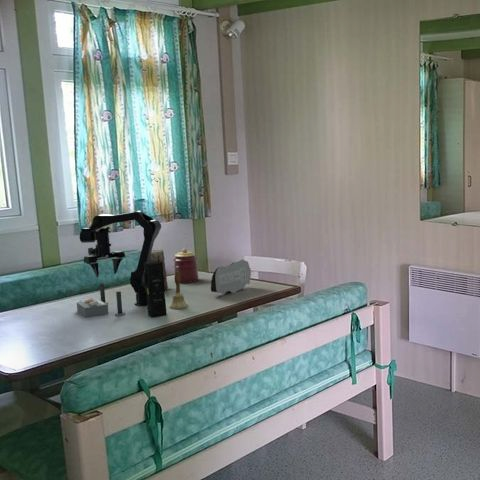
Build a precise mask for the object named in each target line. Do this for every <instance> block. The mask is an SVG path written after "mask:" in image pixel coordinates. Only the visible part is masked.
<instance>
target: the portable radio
mask: <svg viewBox="0 0 480 480" xmlns="http://www.w3.org/2000/svg"><path fill="white" fill-rule="evenodd" d="M144 269H145V272H144V285H145V286H146V294H147V305H146V308H147V316H149V317H151V318H154V317H155V318H157V317H163V316H167V305H166V304H167V303H166V293H165V289H164V275H163V262H161V261H160V259H159V256H158V261H154V262H146V263H144Z"/></svg>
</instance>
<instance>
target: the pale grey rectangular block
mask: <svg viewBox="0 0 480 480" xmlns="http://www.w3.org/2000/svg"><path fill="white" fill-rule="evenodd" d="M88 300H94V298H93V297H92V296H91V297H89V298H86V299H84V301H85V302H86V303H87V302H88Z"/></svg>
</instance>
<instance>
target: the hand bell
mask: <svg viewBox="0 0 480 480" xmlns="http://www.w3.org/2000/svg"><path fill="white" fill-rule="evenodd" d="M174 277H175V278H174V283H175V287H176V288H175V294H173V295H172V303H171V304H170V305H169V309H173V310H174V309H176V310H180V309H185V308H188V307H189V304H188V303H187V302H186V301H185V297H184V294H183V293H181V287H180V286H181V283H180V280H181V279H180V274H179V271H176V273H175V274H174Z"/></svg>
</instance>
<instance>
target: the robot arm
mask: <svg viewBox="0 0 480 480" xmlns="http://www.w3.org/2000/svg"><path fill="white" fill-rule="evenodd" d="M131 221H135V222H136V223H138V225H139V226H140V227H141V228H142V229H143V230H142V231H143V238H144V239H143V243H142V248H141V251H140V255H139V260H138V263H137V268H136V269H134V270H132V271H131V272H130V277H129V284H130V286H131V288H132V289H133V290H134V291H133V292H134V293H135V300H136V301H135V302H136V303H134V305H135V306H144V307H145V306H146V307H147V294H146V286H145V285H144V272H145V269H144V263H146V262H149V259H150V255H151V251H152V250H153V246H154V243H155V240H156V239H157V237H158V235H159V233H160V231H161V229H162V224H161V222H160V221H159V220H157V219H154V218H153V217H151V216H149V215H148V214H146V213H144V212H143V211H141V210H136V211H135V210H134V211H132V212H126V213H118V214H110V213H109V214H97V215H95V216H94V217H93V219H92V223H91V224H90V227H88V228H87V227H82V228H81V229H80V233H79V236H78V237H79V240H80V243H81V244H86V243H95V242H96V244H95V248H94V247H89V248H87V252H88V253H87V254H88V255H85V256H84V257H83V263H85V264H86V265H89V266H90V267H91V268H92V270H93V272H94V274H95V276H96V277H95V278H99V276H100V275H99V274H100V273H99V271H100V270H99V262H98V261H100V260H107V259H111V261H112V265H113V274H115V275H116V274H117V272H118V270H119V266H120V264H121V262H122V260H124V258H126V253H125V251H123V250H117V251H116V250H115V251H111V247H112V243H110V234H109V233H111V232H113V228H111V227H110V225H113V224H116V223H124V222H131Z"/></svg>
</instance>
